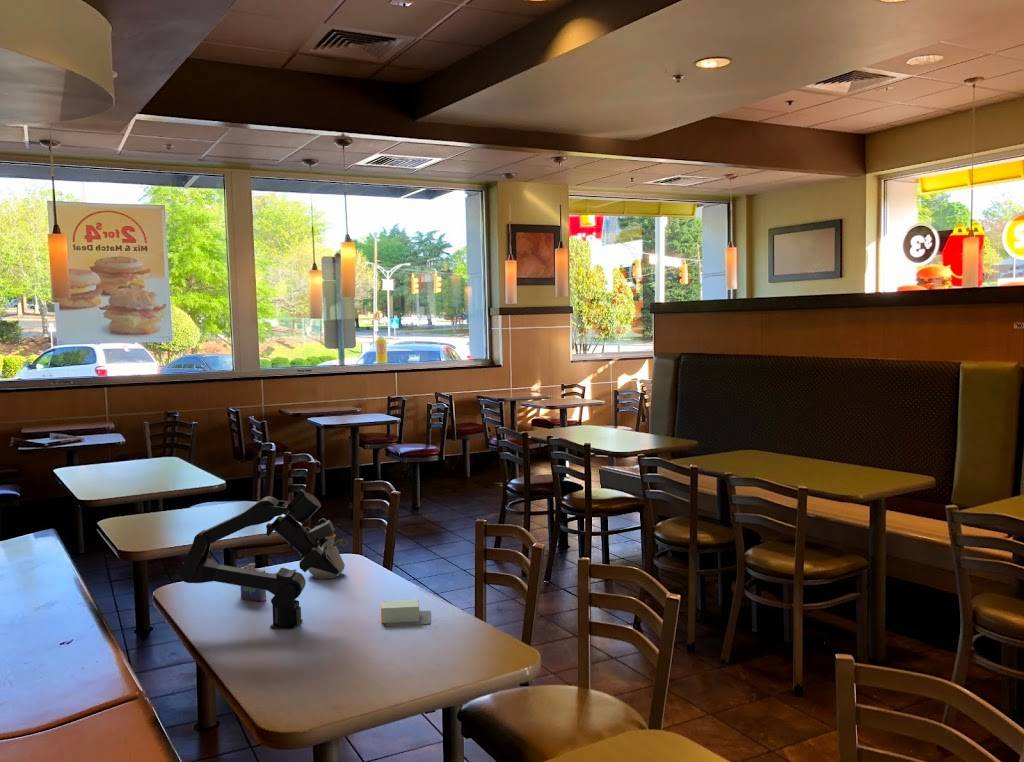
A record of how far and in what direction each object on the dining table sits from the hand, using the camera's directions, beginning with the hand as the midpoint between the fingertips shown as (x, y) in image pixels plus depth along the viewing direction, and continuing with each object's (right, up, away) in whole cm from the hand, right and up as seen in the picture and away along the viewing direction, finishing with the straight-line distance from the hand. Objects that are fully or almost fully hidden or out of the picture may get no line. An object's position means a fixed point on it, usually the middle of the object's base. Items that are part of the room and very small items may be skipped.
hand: (338, 572), depth 229 cm
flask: (-29, -13, +22) cm, 39 cm away
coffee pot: (-10, -11, +40) cm, 42 cm away
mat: (+18, -13, +3) cm, 23 cm away
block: (+11, -11, +2) cm, 16 cm away
